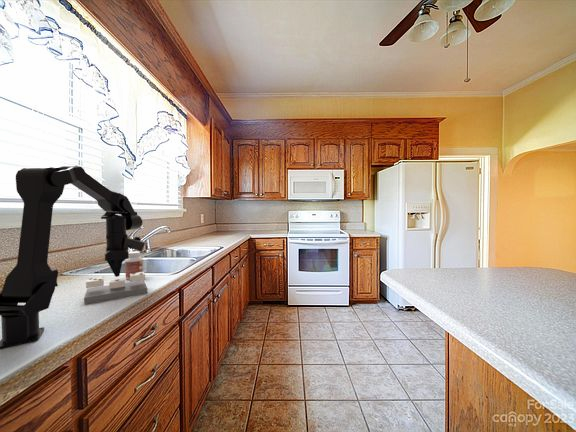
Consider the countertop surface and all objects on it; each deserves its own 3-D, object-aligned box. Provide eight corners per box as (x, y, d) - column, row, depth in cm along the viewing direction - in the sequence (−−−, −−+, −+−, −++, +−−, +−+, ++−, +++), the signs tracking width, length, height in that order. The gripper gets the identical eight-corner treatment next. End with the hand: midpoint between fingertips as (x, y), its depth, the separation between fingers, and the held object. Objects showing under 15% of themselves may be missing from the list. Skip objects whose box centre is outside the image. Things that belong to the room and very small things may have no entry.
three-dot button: (103, 285, 81) (103, 279, 81) (86, 288, 79) (86, 281, 79) (103, 282, 85) (103, 276, 85) (87, 284, 82) (87, 278, 82)
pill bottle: (142, 278, 104) (142, 252, 104) (125, 280, 101) (125, 254, 101) (142, 275, 109) (141, 250, 109) (125, 277, 106) (125, 251, 106)
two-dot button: (145, 279, 88) (145, 273, 88) (130, 281, 86) (130, 275, 86) (143, 277, 92) (143, 271, 92) (129, 279, 89) (129, 273, 89)
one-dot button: (125, 286, 85) (125, 280, 85) (109, 288, 82) (109, 282, 82) (124, 283, 88) (124, 277, 88) (109, 285, 86) (109, 279, 86)
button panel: (147, 293, 86) (147, 287, 86) (84, 304, 76) (84, 297, 76) (144, 285, 95) (144, 280, 95) (87, 294, 85) (87, 288, 85)
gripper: (146, 232, 82) (146, 278, 82) (141, 228, 97) (141, 268, 98) (104, 234, 75) (105, 284, 76) (106, 230, 91) (107, 272, 91)
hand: (117, 276), depth 85 cm, fingers closed
